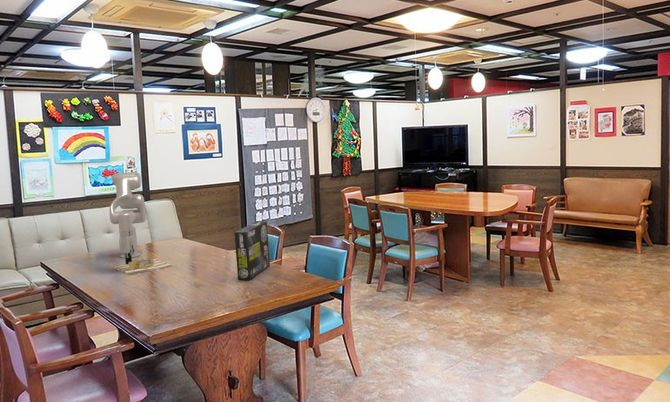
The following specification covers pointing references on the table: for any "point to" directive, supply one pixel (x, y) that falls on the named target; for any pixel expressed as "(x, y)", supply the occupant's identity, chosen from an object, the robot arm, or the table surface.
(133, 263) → the ring nut
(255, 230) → the box
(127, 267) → the base
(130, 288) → the table surface
